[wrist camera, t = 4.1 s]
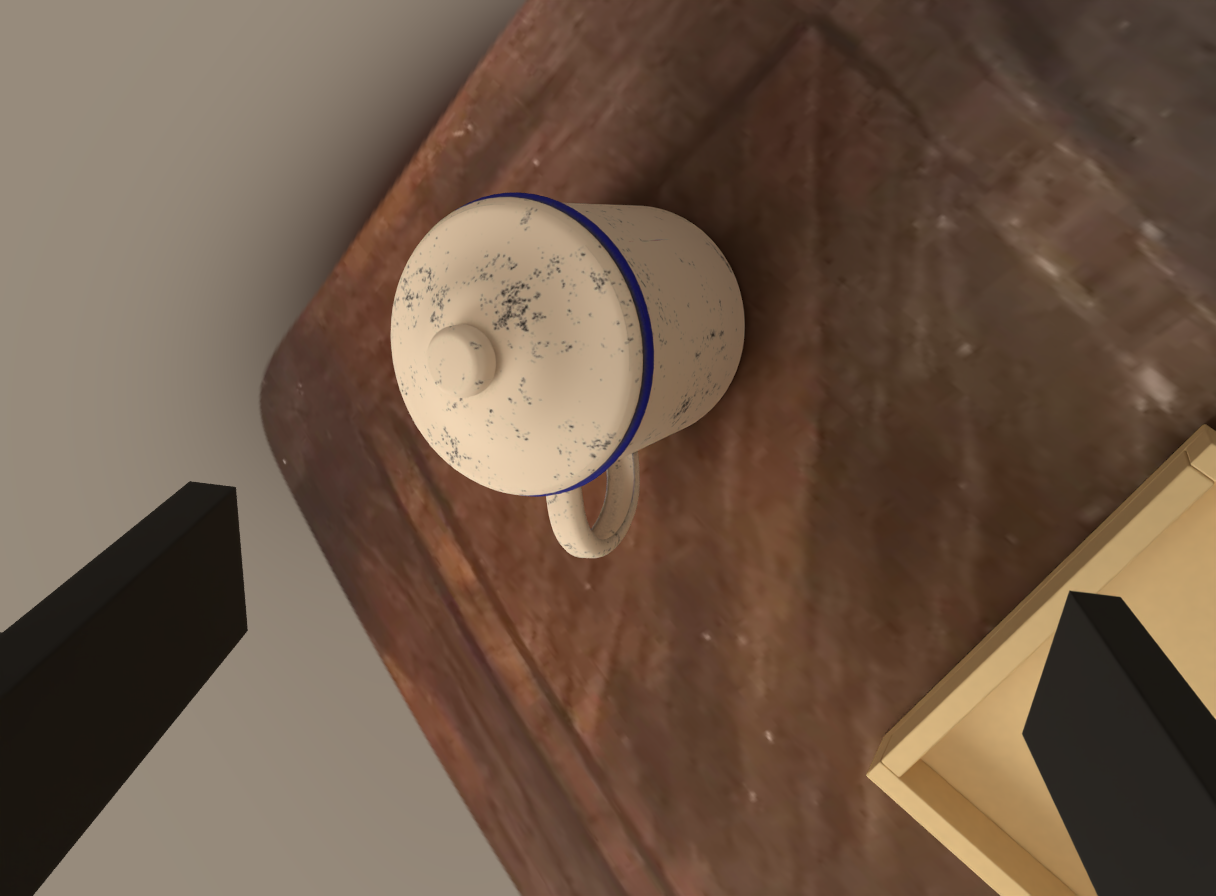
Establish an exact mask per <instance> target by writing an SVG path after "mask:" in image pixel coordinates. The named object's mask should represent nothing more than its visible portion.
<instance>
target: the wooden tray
mask: <svg viewBox="0 0 1216 896" xmlns="http://www.w3.org/2000/svg"><path fill="white" fill-rule="evenodd" d="M1069 591H1077V592H1086V593H1094V594H1102V595H1110V596H1118V597H1121V598H1122V599H1123V600H1124V602H1125V603H1126V604H1127V605H1128V607H1129V608H1130V609H1131V611H1132V612H1133V613H1134V615H1135V616H1136V617H1137V618H1138V620H1139V621H1140V622H1141V624H1142V625H1143V626H1144V627H1145V629H1146V630H1147V631H1148V633H1149V634H1150V635H1151V636H1152V638H1153V639H1154V640H1155V642H1156V643H1157V644H1158V646H1159V647H1160V648H1161V649H1162V651H1163V652H1164V653H1165V655H1166V656H1167V657H1168V658H1169V660H1170V661H1171V662H1172V664H1173V665H1174V666H1175V667H1176V669H1177V670H1178V671H1179V673H1180V674H1181V675H1182V676H1183V678H1184V679H1185V680H1186V682H1187V683H1188V684H1189V686H1190V687H1191V688H1192V689H1193V691H1194V692H1195V693H1196V695H1197V696H1198V697H1199V698H1200V700H1201V701H1202V702H1203V704H1204V705H1205V706H1206V707H1207V709H1208V710H1209V711H1210V713H1211V714H1212V715H1213V717H1214V718H1215V719H1216V431H1215V430H1213V429H1212V428H1210V427H1209V426H1208V425H1205V424H1204V425H1202V426H1201V427H1200V428H1199V429H1198V430H1197V431H1196V432H1195V433H1194V434H1193V435H1192V436H1191V437H1190V438H1189V439H1188V440H1187V441H1186V442H1185V443H1184V444H1182V445H1181V446H1180V447H1179V448H1178V449H1177V450H1176V451H1175V452H1174V453H1173V454H1172V455H1171V456H1170V457H1169V458H1168V459H1167V460H1166V461H1165V462H1164V463H1163V464H1162V465H1161V466H1160V467H1159V468H1158V469H1157V470H1156V471H1155V472H1154V473H1153V474H1152V475H1151V476H1150V477H1149V478H1148V479H1147V480H1146V481H1145V482H1144V483H1143V484H1142V485H1141V486H1139V487H1138V488H1137V489H1136V490H1135V491H1134V492H1133V493H1132V494H1131V495H1130V496H1129V497H1128V498H1127V499H1126V500H1125V501H1124V502H1123V503H1122V504H1121V505H1120V506H1119V507H1118V508H1117V509H1116V510H1115V511H1114V512H1113V513H1112V514H1111V515H1110V516H1109V517H1108V518H1107V519H1106V520H1105V521H1104V522H1103V523H1102V524H1101V525H1100V526H1099V527H1098V528H1096V529H1095V530H1094V531H1093V532H1092V533H1091V534H1090V535H1089V536H1088V537H1087V538H1086V539H1085V540H1084V541H1083V542H1082V543H1081V544H1080V545H1079V546H1078V547H1077V548H1076V549H1075V550H1074V551H1073V552H1072V553H1071V554H1070V555H1069V556H1068V557H1067V558H1066V559H1065V560H1064V561H1063V562H1062V563H1061V564H1060V565H1059V566H1058V567H1057V568H1056V569H1055V570H1053V571H1052V572H1051V573H1050V574H1049V575H1048V576H1047V577H1046V578H1045V579H1044V580H1043V581H1042V582H1041V583H1040V584H1039V585H1038V586H1037V587H1036V588H1035V589H1034V590H1033V591H1032V592H1031V593H1030V594H1029V595H1028V596H1027V597H1026V598H1025V599H1024V600H1023V601H1022V602H1021V603H1020V604H1019V605H1018V606H1017V607H1016V608H1015V609H1014V610H1013V611H1012V612H1011V613H1009V614H1008V615H1007V616H1006V617H1005V618H1004V619H1003V620H1002V621H1001V622H1000V623H999V624H998V625H997V626H996V627H995V628H994V629H993V630H992V631H991V632H990V633H989V634H988V635H987V636H986V637H985V638H984V639H983V640H982V641H981V642H980V643H979V644H978V645H977V646H976V647H975V648H974V649H973V650H972V651H971V652H970V653H969V654H968V655H966V656H965V657H964V658H963V659H962V660H961V661H960V662H959V663H958V664H957V665H956V666H955V667H954V668H953V669H952V670H951V671H950V672H949V673H948V674H947V675H946V676H945V677H944V678H943V679H942V680H941V681H940V682H939V683H938V684H937V685H936V686H935V687H934V688H933V689H932V690H931V691H930V692H929V693H928V694H927V695H926V696H925V697H923V698H922V699H921V700H920V701H919V702H918V703H917V704H916V705H915V706H914V707H913V708H912V709H911V710H910V711H909V712H908V713H907V714H906V715H905V716H904V717H903V718H902V719H901V720H900V721H899V722H898V723H897V724H896V725H895V726H894V727H893V728H892V729H891V730H890V731H889V732H888V733H887V734H886V735H885V736H884V737H883V739H882V742H881V744H880V746H879V748H878V750H877V752H876V754H875V757H874V759H873V761H872V763H871V765H870V768H869V770H868V772H867V774H866V776H867V777H868V778H869V779H871V780H872V781H873V782H874V783H875V784H876V785H877V786H878V787H880V788H881V789H882V790H883V791H884V792H885V793H886V794H887V795H889V796H890V797H891V798H892V799H893V800H894V801H895V802H896V803H897V804H899V805H900V806H901V807H902V808H903V809H904V810H905V811H906V812H908V813H909V814H910V815H911V816H912V817H913V818H914V819H915V820H916V821H918V822H919V823H920V824H921V825H922V826H923V827H924V828H925V829H927V830H928V831H929V832H930V833H931V834H932V835H933V836H934V837H936V838H937V839H938V840H939V841H940V842H941V843H942V844H943V845H944V846H946V847H947V848H948V849H949V850H950V851H951V852H952V853H953V854H955V855H956V856H957V857H958V858H959V859H960V860H961V861H962V862H964V863H965V864H966V865H967V866H968V867H969V868H970V869H971V870H972V871H974V872H975V873H976V874H977V875H978V876H979V877H980V878H981V879H983V880H984V881H985V882H986V883H987V884H988V885H989V886H990V887H992V888H993V889H994V890H995V891H996V892H997V893H998V894H999V895H1000V896H1098V895H1097V893H1096V891H1095V889H1094V887H1093V885H1092V883H1091V881H1090V878H1089V876H1088V874H1087V872H1086V870H1085V868H1084V866H1083V863H1082V861H1081V859H1080V857H1079V855H1078V853H1077V851H1076V849H1075V846H1074V844H1073V842H1072V840H1071V838H1070V836H1069V834H1068V831H1067V829H1066V827H1065V825H1064V823H1063V821H1062V819H1061V817H1060V814H1059V812H1058V810H1057V808H1056V806H1055V804H1054V802H1053V799H1052V797H1051V795H1050V793H1049V791H1048V789H1047V787H1046V784H1045V782H1044V780H1043V778H1042V776H1041V774H1040V772H1039V770H1038V767H1037V765H1036V763H1035V761H1034V759H1033V757H1032V755H1031V752H1030V750H1029V748H1028V746H1027V744H1026V742H1025V740H1024V738H1023V735H1022V732H1023V729H1024V726H1025V723H1026V720H1027V717H1028V714H1029V711H1030V708H1031V705H1032V702H1033V699H1034V696H1035V693H1036V690H1037V687H1038V684H1039V681H1040V678H1041V675H1042V672H1043V669H1044V666H1045V663H1046V660H1047V656H1048V653H1049V650H1050V647H1051V644H1052V641H1053V638H1054V635H1055V632H1056V629H1057V626H1058V623H1059V620H1060V617H1061V614H1062V611H1063V608H1064V605H1065V602H1066V599H1067V596H1068V593H1069Z"/></svg>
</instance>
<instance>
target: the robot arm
mask: <svg viewBox="0 0 1216 896" xmlns="http://www.w3.org/2000/svg"><path fill="white" fill-rule="evenodd" d="M247 631H248V629H247V617H246V605H245V593H244V580H243V569H242V556H241V544H240V532H239V520H238V508H237V496H236V487H231V486H223V485H214V484H206V483H199V482H191V481H190V482H188V483H187V484H186V485H185V486H184V487H182V488H181V489H180V490H179V491H177V492H176V493H175V494H174V495H172V496H171V497H170V498H169V499H167V500H166V501H165V502H164V503H162V504H161V505H160V506H159V507H158V508H156V509H155V510H154V511H153V512H151V513H150V514H149V515H148V516H147V517H145V518H144V519H143V520H141V521H140V522H139V523H138V524H137V525H135V526H134V527H133V528H132V529H130V530H129V531H128V532H127V533H125V534H124V535H123V536H122V537H120V538H119V539H118V540H117V541H116V542H114V543H113V544H112V545H110V546H109V547H108V548H107V549H106V550H104V551H103V552H102V553H101V554H99V555H98V556H97V557H96V558H94V559H93V560H92V561H91V562H89V563H88V564H87V565H86V566H85V567H83V568H82V569H81V570H80V571H78V572H77V573H76V574H75V575H73V576H72V577H71V578H70V579H68V580H67V581H66V582H65V583H63V584H62V585H61V586H60V587H58V588H57V589H56V590H55V591H54V592H52V593H51V594H50V595H49V596H47V597H46V598H45V599H44V600H42V601H41V602H40V603H39V604H37V605H36V606H35V607H34V608H33V609H32V610H30V611H29V612H28V613H26V614H25V615H24V616H23V617H21V618H20V619H19V620H18V621H16V622H15V623H14V624H13V625H11V626H10V627H9V628H8V629H6V630H5V631H4V632H3V633H1V632H0V896H33V895H34V894H35V892H36V891H37V890H38V889H39V888H40V886H41V885H42V884H43V883H44V881H45V880H46V879H47V878H48V876H49V875H50V874H51V873H52V871H53V870H54V869H55V868H56V867H57V865H58V864H59V863H60V862H61V860H62V859H63V858H64V857H65V855H66V854H67V853H68V851H69V850H70V849H71V848H72V847H73V846H74V844H75V843H76V842H77V841H78V839H79V838H80V837H81V836H82V834H83V833H84V832H85V831H86V829H87V828H88V827H89V826H90V825H91V823H92V822H93V821H94V820H95V818H96V817H97V816H98V815H99V813H100V812H101V811H102V810H103V809H104V807H105V806H106V805H107V804H108V802H109V801H110V800H111V799H112V797H113V796H114V795H115V794H116V792H117V791H118V790H119V789H120V788H121V786H122V785H123V783H125V781H126V780H127V779H128V778H129V776H130V775H131V774H132V773H133V771H134V770H135V769H136V768H137V767H138V765H139V764H140V763H141V762H142V760H143V759H144V758H145V757H146V755H147V754H148V753H149V752H150V750H151V749H152V748H153V747H154V745H155V744H156V743H157V742H158V741H159V739H160V738H161V737H162V736H163V735H164V733H165V732H166V731H167V730H168V728H169V727H170V726H171V725H172V723H173V722H174V721H175V720H176V719H177V717H178V716H179V715H180V714H181V712H182V711H183V710H184V709H185V707H186V706H187V705H188V704H189V702H190V701H191V700H192V699H193V697H194V696H195V695H196V694H197V693H198V691H199V690H200V689H201V688H202V686H203V685H204V684H205V683H206V682H207V680H208V679H209V678H210V676H211V675H212V674H213V673H214V672H215V670H216V669H217V668H218V667H219V665H220V664H221V663H222V662H223V661H224V659H225V658H226V657H227V655H228V654H229V653H230V652H231V651H232V649H233V648H234V647H235V646H236V644H237V643H238V642H239V641H240V640H241V638H242V637H243V636H244V635H245V633H246V632H247ZM1022 735H1023V738H1024V740H1025V742H1026V744H1027V746H1028V748H1029V750H1030V752H1031V755H1032V757H1033V759H1034V761H1035V763H1036V765H1037V767H1038V770H1039V772H1040V774H1041V776H1042V778H1043V780H1044V782H1045V784H1046V787H1047V789H1048V791H1049V793H1050V795H1051V797H1052V799H1053V802H1054V804H1055V806H1056V808H1057V810H1058V812H1059V814H1060V817H1061V819H1062V821H1063V823H1064V825H1065V827H1066V829H1067V831H1068V834H1069V836H1070V838H1071V840H1072V842H1073V844H1074V846H1075V849H1076V851H1077V853H1078V855H1079V857H1080V859H1081V861H1082V863H1083V866H1084V868H1085V870H1086V872H1087V874H1088V876H1089V878H1090V881H1091V883H1092V885H1093V887H1094V889H1095V891H1096V893H1097V895H1098V896H1216V719H1215V718H1214V717H1213V715H1212V714H1211V713H1210V711H1209V710H1208V709H1207V707H1206V706H1205V705H1204V704H1203V702H1202V701H1201V700H1200V698H1199V697H1198V696H1197V695H1196V693H1195V692H1194V691H1193V689H1192V688H1191V687H1190V686H1189V684H1188V683H1187V682H1186V680H1185V679H1184V678H1183V676H1182V675H1181V674H1180V673H1179V671H1178V670H1177V669H1176V667H1175V666H1174V665H1173V664H1172V662H1171V661H1170V660H1169V658H1168V657H1167V656H1166V655H1165V653H1164V652H1163V651H1162V649H1161V648H1160V647H1159V646H1158V644H1157V643H1156V642H1155V640H1154V639H1153V638H1152V636H1151V635H1150V634H1149V633H1148V631H1147V630H1146V629H1145V627H1144V626H1143V625H1142V624H1141V622H1140V621H1139V620H1138V618H1137V617H1136V616H1135V615H1134V613H1133V612H1132V611H1131V609H1130V608H1129V607H1128V605H1127V604H1126V603H1125V602H1124V600H1123V599H1122V598H1121V597H1118V596H1110V595H1102V594H1094V593H1086V592H1077V591H1069V593H1068V596H1067V599H1066V602H1065V605H1064V608H1063V611H1062V614H1061V617H1060V620H1059V623H1058V626H1057V629H1056V632H1055V635H1054V638H1053V641H1052V644H1051V647H1050V650H1049V653H1048V656H1047V660H1046V663H1045V666H1044V669H1043V672H1042V675H1041V678H1040V681H1039V684H1038V687H1037V690H1036V693H1035V696H1034V699H1033V702H1032V705H1031V708H1030V711H1029V714H1028V717H1027V720H1026V723H1025V726H1024V729H1023V732H1022Z"/></svg>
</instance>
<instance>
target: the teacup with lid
mask: <svg viewBox="0 0 1216 896" xmlns="http://www.w3.org/2000/svg"><path fill="white" fill-rule="evenodd" d="M744 332H745V320H744V309H743V302H742V297H741V293H740V289H739V286H738V283H737V281H736V278H735V276H734V273H733V271H732V269H731V267H730V265H729V263H728V262H727V260H726V258H725V256H724V255H723V254H722V252H721V251H720V249H719V248H718V247H717V245H716V244H715V243H714V242H713V241H712V240H711V239H710V238H709V237H708V236H707V235H706V234H705V233H704V232H703V231H702V230H701V229H699V228H698V227H697V226H695V225H694V224H693V223H691V222H689V221H688V220H686V219H685V218H683V217H681V216H678V215H676V214H674V213H672V212H669V211H666V210H663V209H659V208H655V207H648V206H635V205H607V204H579V203H561V202H559V201H556V200H553V199H550V198H548V197H544V196H539V195H535V194H528V193H501V194H494V195H490V196H486V197H482V198H479V199H477V200H474V201H472V202H469V203H467V204H466V205H464V206H462V207H460V208H458V209H457V210H455V211H454V212H452V213H450V214H449V215H448V216H446V217H445V218H443V219H442V220H441V221H440V222H439V223H437V224H436V225H435V226H434V227H433V228H432V229H431V230H430V231H429V232H428V233H427V234H426V236H425V237H424V238H423V239H422V241H421V242H420V243H419V245H418V246H417V247H416V249H415V250H414V252H413V254H412V255H411V257H410V259H409V260H408V262H407V264H406V267H405V269H404V271H403V273H402V276H401V279H400V281H399V284H398V287H397V291H396V295H395V299H394V305H393V310H392V320H391V348H392V357H393V364H394V369H395V374H396V378H397V381H398V385H399V388H400V391H401V394H402V397H403V399H404V402H405V404H406V406H407V409H408V411H409V413H410V415H411V417H412V419H413V420H414V422H415V424H416V426H417V427H418V429H419V430H420V432H421V433H422V435H423V436H424V438H425V439H426V440H427V442H428V443H429V444H430V445H431V447H432V448H433V449H434V450H435V451H436V452H437V453H438V454H439V455H440V456H441V457H442V458H443V459H444V460H445V461H446V462H447V463H448V464H449V465H451V466H452V467H453V468H455V469H456V470H457V471H459V472H460V473H462V474H463V475H465V476H466V477H468V478H469V479H471V480H473V481H475V482H477V483H479V484H481V485H483V486H486V487H488V488H491V489H493V490H497V491H500V492H504V493H509V494H515V495H522V496H546V500H547V507H548V513H549V518H550V522H551V525H552V529H553V531H554V533H555V536H556V538H557V539H558V541H559V543H560V544H561V545H562V547H563V548H564V549H565V550H566V551H567V552H568V553H570V554H572V555H573V556H576V557H580V558H598V557H602V556H604V555H606V554H608V553H610V552H611V551H612V550H614V549H615V548H616V547H617V546H618V544H619V543H620V542H621V541H622V539H623V538H624V536H625V535H626V533H627V531H628V529H629V527H630V525H631V522H632V520H633V517H634V514H635V511H636V507H637V503H638V497H639V485H640V473H639V458H638V450H640V449H642V448H644V447H646V446H648V445H650V444H653V443H655V442H657V441H659V440H661V439H663V438H665V437H667V436H669V435H671V434H674V433H676V432H678V431H680V430H682V429H684V428H686V427H688V426H690V425H691V424H693V423H695V422H696V421H698V420H699V419H700V418H702V417H703V416H704V415H705V414H707V413H708V412H709V411H710V410H711V409H712V408H713V407H714V406H715V405H716V404H717V402H718V401H719V400H720V399H721V398H722V396H723V395H724V393H725V392H726V390H727V389H728V387H729V385H730V383H731V382H732V380H733V377H734V375H735V373H736V371H737V368H738V365H739V362H740V358H741V354H742V350H743V343H744ZM606 470H607V488H606V496H605V500H604V504H603V507H602V510H601V513H600V515H599V517H598V519H597V521H596V522H595V524H594V526H593V527H592V528H591V529H590V527H589V524H588V522H587V518H586V514H585V510H584V503H583V496H582V487H581V486H583V485H585V484H587V483H589V482H590V481H592V480H594V479H595V478H597V477H598V476H599V475H601V474H602V473H603V472H605V471H606Z"/></svg>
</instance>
